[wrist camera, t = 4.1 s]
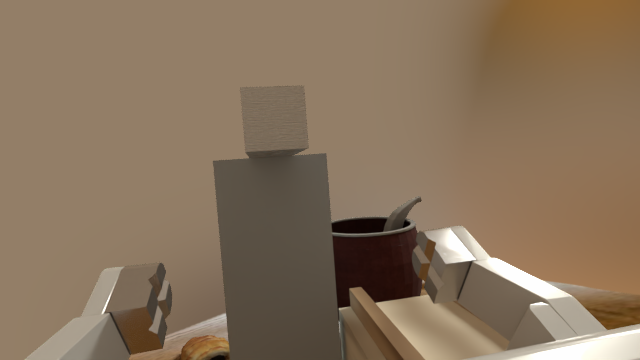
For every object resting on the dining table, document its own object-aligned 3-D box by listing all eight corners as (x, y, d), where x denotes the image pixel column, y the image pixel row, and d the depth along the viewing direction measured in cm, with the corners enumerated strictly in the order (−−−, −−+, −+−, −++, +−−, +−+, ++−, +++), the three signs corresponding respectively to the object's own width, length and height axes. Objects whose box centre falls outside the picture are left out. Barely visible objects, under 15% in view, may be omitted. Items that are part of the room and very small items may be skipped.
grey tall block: (318, 380, 39) (301, 159, 38) (350, 493, 26) (326, 153, 24) (249, 393, 38) (230, 164, 37) (244, 520, 24) (213, 160, 23)
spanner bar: (281, 160, 36) (279, 132, 36) (308, 148, 16) (303, 85, 16) (252, 162, 35) (250, 134, 35) (245, 152, 16) (240, 87, 16)
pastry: (171, 360, 46) (169, 333, 46) (219, 342, 50) (217, 317, 50) (191, 394, 39) (188, 362, 39) (245, 370, 43) (243, 341, 43)
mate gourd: (344, 399, 36) (331, 214, 35) (309, 338, 49) (299, 203, 48) (463, 363, 40) (454, 199, 40) (402, 317, 54) (394, 193, 53)
